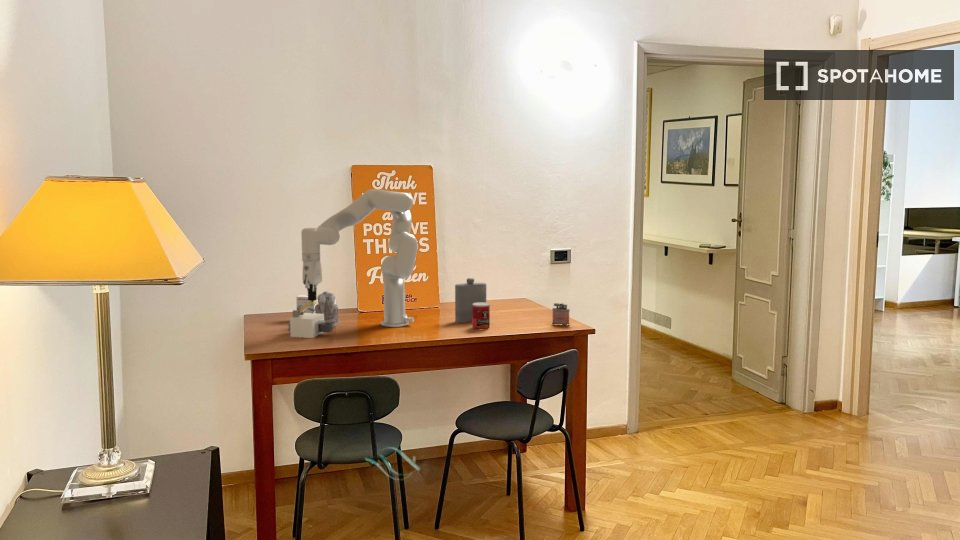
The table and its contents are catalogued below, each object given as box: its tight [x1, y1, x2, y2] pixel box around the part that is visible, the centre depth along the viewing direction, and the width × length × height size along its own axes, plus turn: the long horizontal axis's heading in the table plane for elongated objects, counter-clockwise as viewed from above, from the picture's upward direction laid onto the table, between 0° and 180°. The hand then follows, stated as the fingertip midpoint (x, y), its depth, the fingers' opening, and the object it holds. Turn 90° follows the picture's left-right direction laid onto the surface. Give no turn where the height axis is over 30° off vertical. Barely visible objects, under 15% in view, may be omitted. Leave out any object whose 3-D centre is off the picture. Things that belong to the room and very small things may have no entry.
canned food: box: [471, 302, 491, 330], centre depth 332 cm, size 8×8×11 cm
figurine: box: [315, 291, 339, 329], centre depth 336 cm, size 10×11×15 cm
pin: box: [287, 320, 333, 335], centre depth 319 cm, size 19×6×5 cm, turn 78°
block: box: [289, 308, 324, 339], centre depth 319 cm, size 10×12×11 cm
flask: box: [454, 277, 487, 324], centre depth 346 cm, size 15×6×20 cm, turn 109°
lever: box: [298, 300, 318, 315], centre depth 319 cm, size 10×4×2 cm
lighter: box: [551, 302, 571, 325], centre depth 338 cm, size 8×3×10 cm, turn 65°
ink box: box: [296, 294, 318, 313], centre depth 348 cm, size 9×5×12 cm, turn 84°
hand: (312, 300), depth 317 cm, fingers closed
